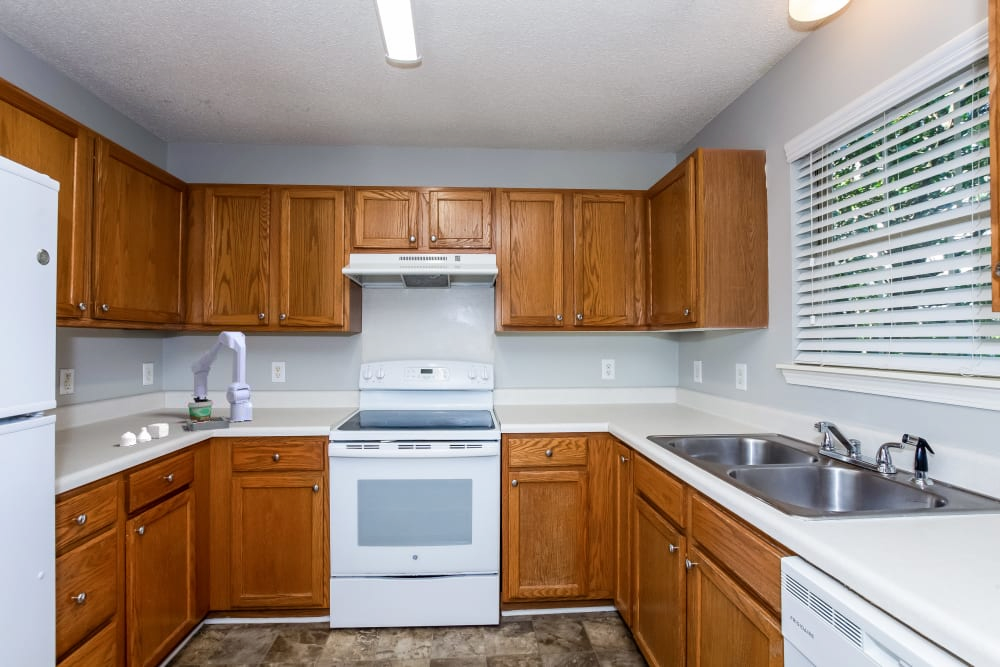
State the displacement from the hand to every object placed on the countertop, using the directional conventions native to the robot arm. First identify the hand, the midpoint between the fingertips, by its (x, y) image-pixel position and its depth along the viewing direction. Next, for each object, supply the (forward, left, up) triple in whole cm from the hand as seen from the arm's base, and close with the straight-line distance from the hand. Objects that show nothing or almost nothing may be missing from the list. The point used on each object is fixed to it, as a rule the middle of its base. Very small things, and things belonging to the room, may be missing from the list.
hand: (200, 412), depth 242 cm
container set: (+24, +50, -3) cm, 55 cm away
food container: (0, +15, -3) cm, 15 cm away
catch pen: (0, +30, -3) cm, 30 cm away
